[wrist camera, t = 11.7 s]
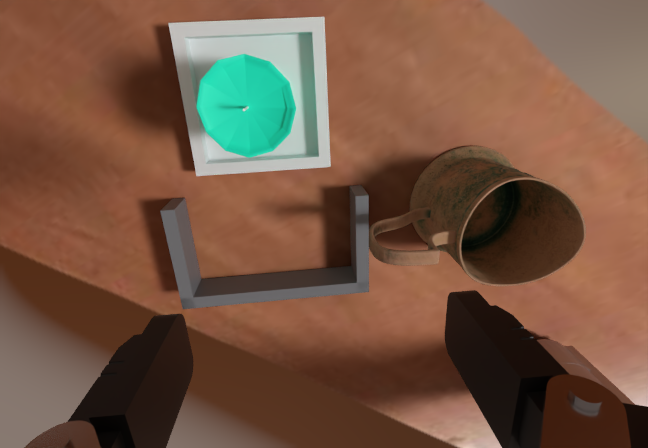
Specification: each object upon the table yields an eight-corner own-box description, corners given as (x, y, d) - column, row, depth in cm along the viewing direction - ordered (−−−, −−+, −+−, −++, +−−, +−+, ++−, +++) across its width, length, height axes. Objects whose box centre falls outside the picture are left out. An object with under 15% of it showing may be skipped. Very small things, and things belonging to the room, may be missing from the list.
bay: (361, 185, 36) (368, 195, 33) (362, 274, 40) (368, 291, 36) (172, 198, 35) (160, 210, 31) (191, 289, 38) (183, 309, 35)
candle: (294, 134, 33) (297, 162, 22) (227, 134, 32) (195, 162, 21) (293, 62, 31) (296, 52, 20) (221, 60, 30) (182, 49, 19)
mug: (352, 150, 35) (382, 182, 24) (526, 143, 36) (633, 171, 25) (351, 257, 39) (376, 328, 28) (507, 248, 40) (591, 311, 29)
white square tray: (321, 20, 30) (324, 16, 28) (328, 162, 35) (330, 166, 33) (175, 26, 29) (168, 23, 28) (201, 170, 34) (196, 176, 32)
